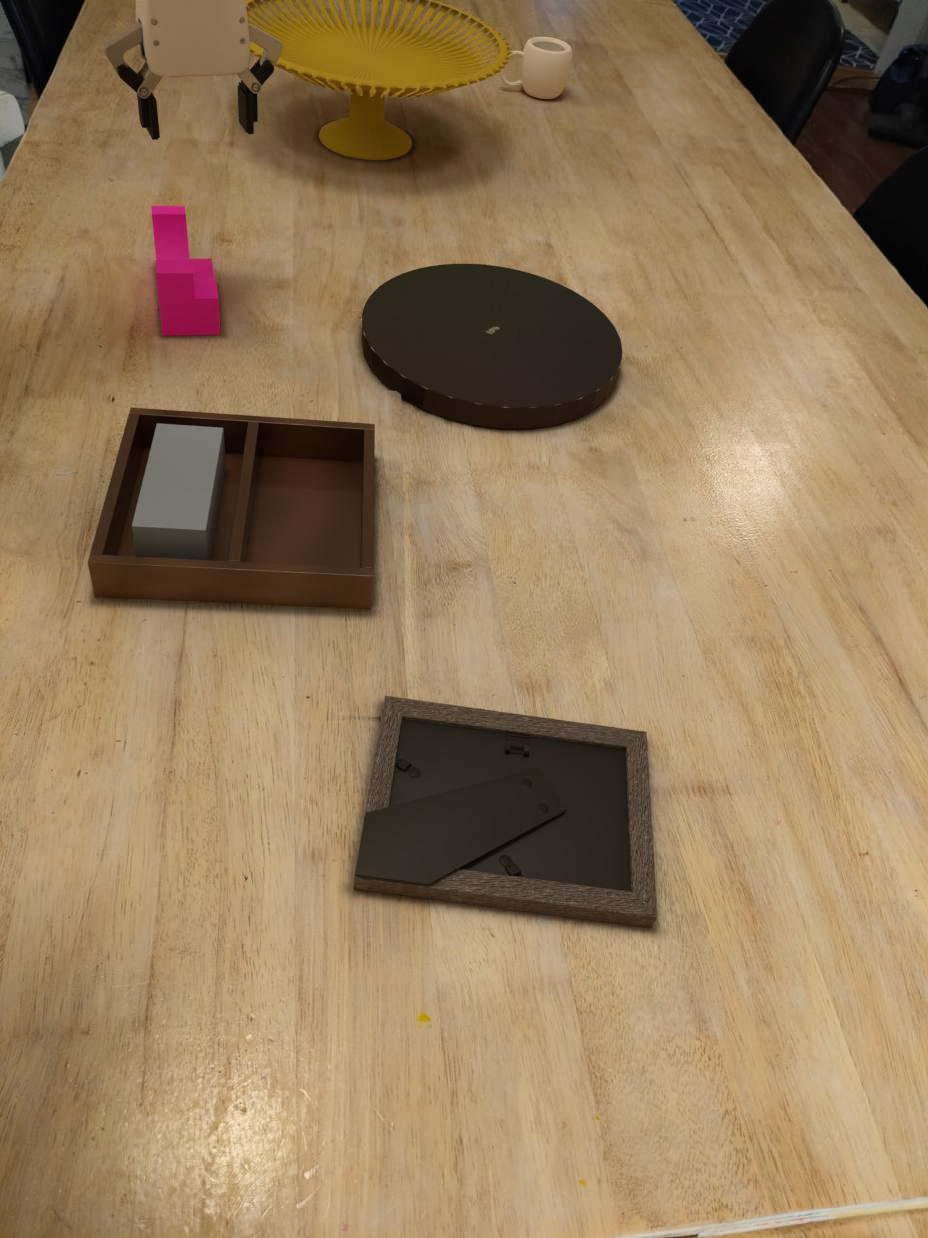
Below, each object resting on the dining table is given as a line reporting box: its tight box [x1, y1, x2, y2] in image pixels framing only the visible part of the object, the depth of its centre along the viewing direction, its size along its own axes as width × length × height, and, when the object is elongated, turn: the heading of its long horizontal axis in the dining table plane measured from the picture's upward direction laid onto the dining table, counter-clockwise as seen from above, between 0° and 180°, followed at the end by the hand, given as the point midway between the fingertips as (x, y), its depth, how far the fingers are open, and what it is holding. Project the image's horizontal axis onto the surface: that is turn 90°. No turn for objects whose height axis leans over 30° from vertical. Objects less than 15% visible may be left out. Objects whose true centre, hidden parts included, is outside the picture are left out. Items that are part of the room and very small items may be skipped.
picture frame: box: [353, 695, 658, 928], centre depth 76 cm, size 16×2×21 cm
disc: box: [360, 262, 624, 430], centre depth 118 cm, size 30×30×3 cm
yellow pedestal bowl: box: [245, 0, 513, 161], centre depth 149 cm, size 40×40×15 cm
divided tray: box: [87, 407, 376, 611], centre depth 93 cm, size 23×21×5 cm
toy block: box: [150, 205, 221, 337], centre depth 116 cm, size 15×6×8 cm, turn 13°
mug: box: [499, 36, 573, 100], centre depth 173 cm, size 12×8×8 cm
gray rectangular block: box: [132, 423, 226, 560], centre depth 91 cm, size 6×14×5 cm, turn 3°
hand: (200, 131), depth 105 cm, fingers open, 9 cm apart
